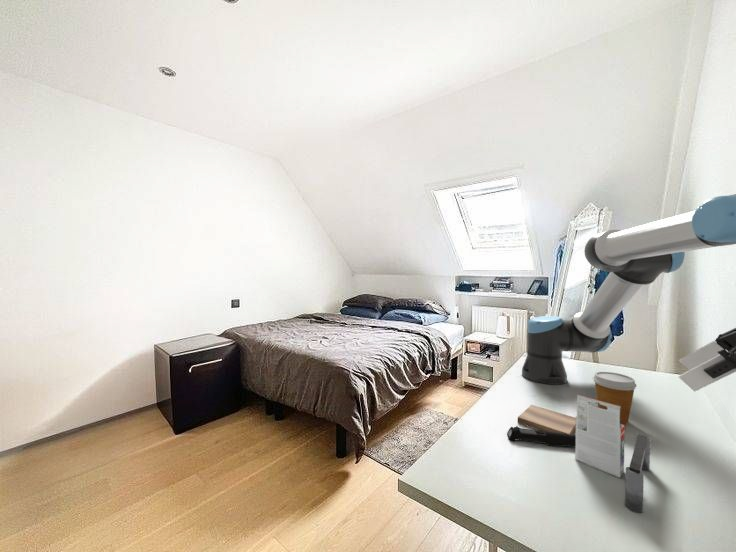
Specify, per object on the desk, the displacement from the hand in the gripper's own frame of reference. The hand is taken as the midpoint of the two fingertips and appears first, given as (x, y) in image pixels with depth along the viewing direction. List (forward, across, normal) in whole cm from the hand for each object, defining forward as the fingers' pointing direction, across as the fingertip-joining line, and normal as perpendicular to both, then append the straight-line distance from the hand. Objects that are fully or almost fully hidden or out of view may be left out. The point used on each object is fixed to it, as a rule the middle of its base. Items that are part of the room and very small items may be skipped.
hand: (685, 374), depth 56 cm
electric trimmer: (+34, +2, +1) cm, 34 cm away
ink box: (+25, +1, -7) cm, 26 cm away
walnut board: (+34, +13, +2) cm, 36 cm away
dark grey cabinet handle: (+20, -1, -12) cm, 24 cm away
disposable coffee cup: (+26, +29, -6) cm, 39 cm away
